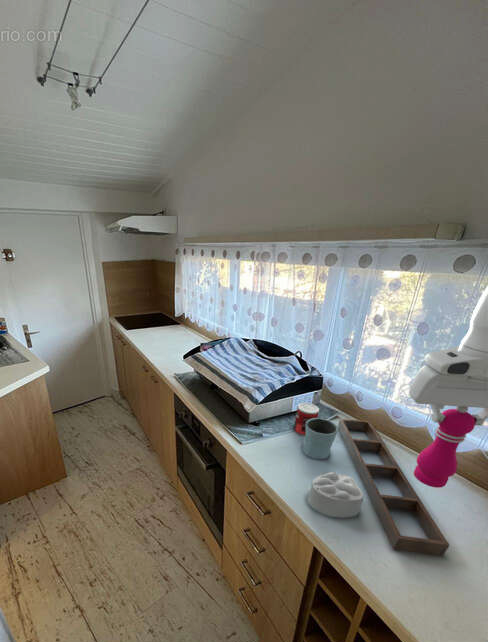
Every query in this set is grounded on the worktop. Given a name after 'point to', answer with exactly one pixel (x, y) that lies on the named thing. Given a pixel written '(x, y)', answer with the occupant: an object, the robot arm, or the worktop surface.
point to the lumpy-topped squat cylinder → (335, 495)
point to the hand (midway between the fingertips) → (455, 422)
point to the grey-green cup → (319, 437)
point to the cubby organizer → (382, 503)
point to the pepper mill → (444, 448)
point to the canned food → (304, 416)
